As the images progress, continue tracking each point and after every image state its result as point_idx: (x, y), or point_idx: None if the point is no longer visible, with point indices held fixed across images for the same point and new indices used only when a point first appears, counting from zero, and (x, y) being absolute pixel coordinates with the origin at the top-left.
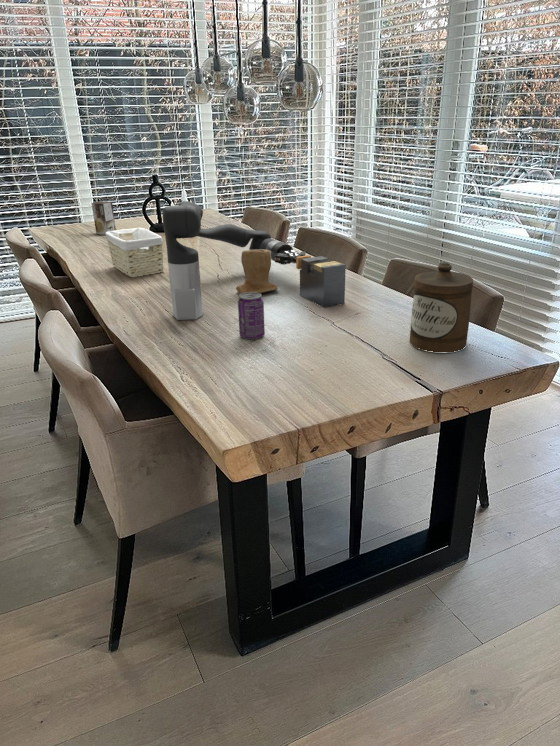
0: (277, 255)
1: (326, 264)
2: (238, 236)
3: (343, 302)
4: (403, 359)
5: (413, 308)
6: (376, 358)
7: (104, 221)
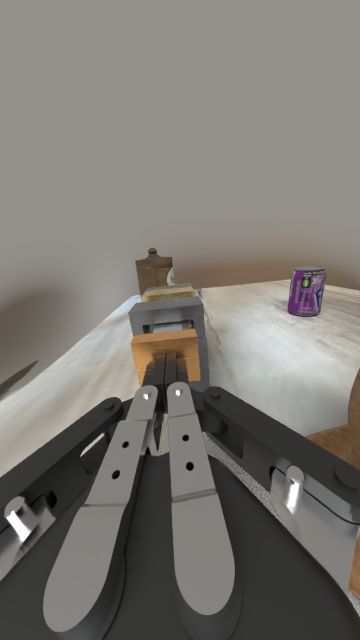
0: (328, 467)
1: (172, 290)
2: None
3: None
4: None
5: (172, 278)
6: (206, 297)
7: None
